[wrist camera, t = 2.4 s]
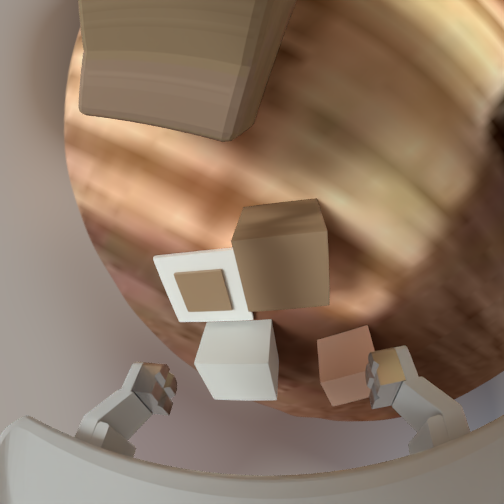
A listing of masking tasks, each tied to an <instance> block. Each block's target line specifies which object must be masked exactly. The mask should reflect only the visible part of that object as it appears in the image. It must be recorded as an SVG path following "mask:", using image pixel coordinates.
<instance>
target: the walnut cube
mask: <svg viewBox="0 0 504 504" xmlns="http://www.w3.org/2000/svg"><path fill="white" fill-rule="evenodd" d="M231 242H232V247H233V251H234V255H235V259H236V263H237V267H238V271H239V276H240V280H241V284H242V288H243V292H244V296H245V300H246V304H247V308H248V312H255V311H270V310H283V309H295V308H306V307H317V306H327V305H329V256H328V235H327V228H326V225H325V222H324V219H323V216H322V213H321V210H320V207H319V204H318V201H317V199H307V200H298V201H289V202H280V203H272V204H263V205H256V206H248V207H243V210H242V212H241V215H240V218H239V221H238V223H237V226H236V229H235V232H234V235H233V237H232V240H231Z"/></svg>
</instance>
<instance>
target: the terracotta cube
mask: <svg viewBox="0 0 504 504" xmlns="http://www.w3.org/2000/svg"><path fill="white" fill-rule="evenodd" d="M317 347H318V359H319V373H320V383H321V385H322V387H323V389H324V391H325V393H326V395H327V397H328V399H329V401H330V402H331V404H332V406H336V405H340V404H344V403H349V402H353V401H356V400H360V399H364V398H368V397H369V394H370V391H371V389H370V388H368V387H367V384H366V377H365V370H366V365H367V364H368V363H369V361H368V355H369V353H370V352H374V347H373V343H372V339H371V336H370V332H369V328H368V325H366V326H362V327H359V328H356V329H353V330H350V331H346V332H343V333H340V334H336V335H333V336H329V337H326V338H322V339H319V340H317Z"/></svg>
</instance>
